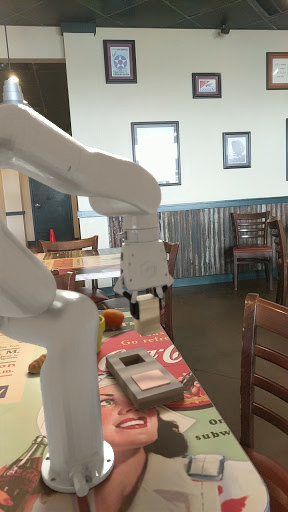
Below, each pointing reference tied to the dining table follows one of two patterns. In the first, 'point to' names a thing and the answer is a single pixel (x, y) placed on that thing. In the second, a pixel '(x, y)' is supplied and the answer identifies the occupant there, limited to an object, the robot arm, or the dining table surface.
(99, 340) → the plant pot
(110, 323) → the fruit
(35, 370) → the pastry
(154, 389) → the pocket board
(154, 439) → the dining table surface
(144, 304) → the maple block
